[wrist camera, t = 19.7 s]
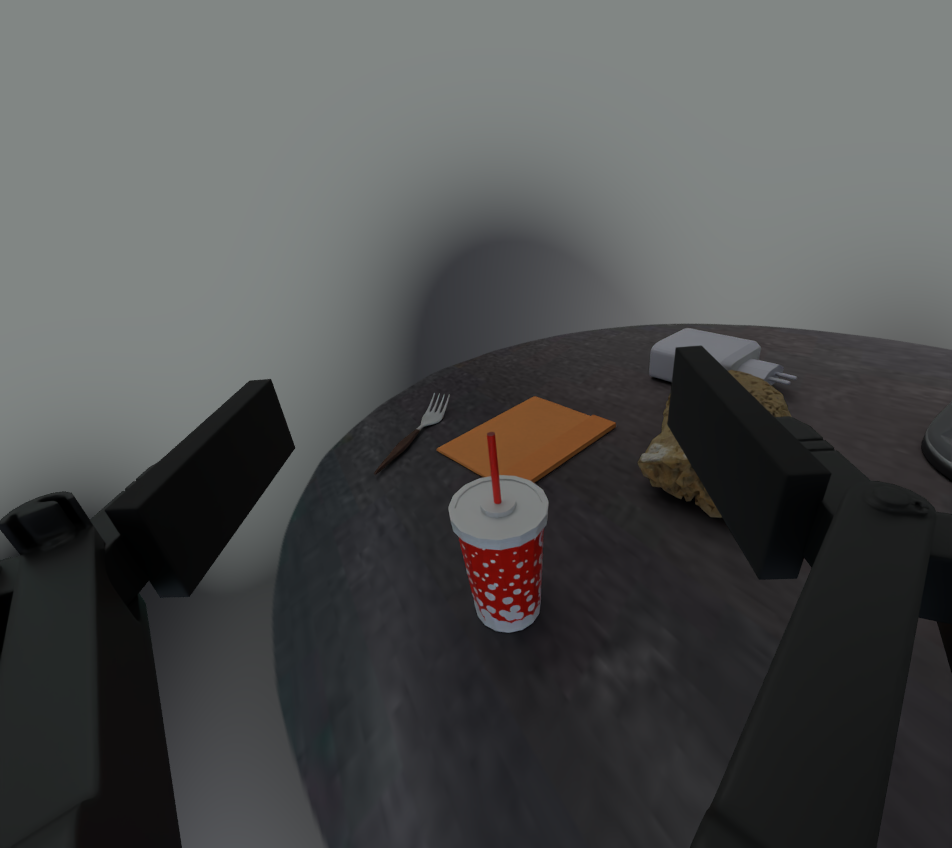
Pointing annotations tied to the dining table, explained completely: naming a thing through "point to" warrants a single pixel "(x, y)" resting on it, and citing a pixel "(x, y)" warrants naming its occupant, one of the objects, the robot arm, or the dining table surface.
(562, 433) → the cloth
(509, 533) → the beverage cup
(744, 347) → the charger
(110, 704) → the robot arm
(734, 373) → the sponge
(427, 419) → the fork
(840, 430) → the dining table surface
